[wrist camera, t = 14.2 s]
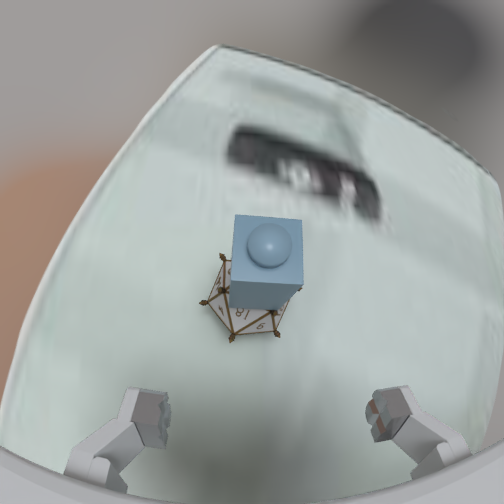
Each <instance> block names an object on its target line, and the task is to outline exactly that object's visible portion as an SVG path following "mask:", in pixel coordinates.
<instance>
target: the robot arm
mask: <svg viewBox="0 0 504 504" xmlns="http://www.w3.org/2000/svg"><path fill="white" fill-rule="evenodd" d="M372 397H373V399H372V400H371V401H369V402H368V404H367V406H366V411H365V414H366V419H367V422H368V423H369V424H370V425H372V428H371V433H372V436H373V439H374V442H381V441H386V440H391V439H392V441H393V442H394V443H395V444H396V445H398V446H399V447H400V448H401V449H402V450H403V451H404V452H405V453H406V454H407V455H409V456H410V457H411V458H412V459H413V460H414V461H415V462H416V463H418V465H417V466H416V467H415V468H414V469H413V470H412V471H411V473H410V474H411V477H412V480H410V481H407V482H404V483H401V484H398V485H394V486H391V487H388V488H384V489H380V490H376V491H372V492H368V493H364V494H360V495H355V496H350V497H345V498H340V499H334V500H328V501H321V502H314V503H306V504H504V438H503V439H502V440H500V441H498V442H497V443H495V444H493V445H491V446H489V447H488V448H486V449H484V450H482V451H480V452H478V453H476V454H474V455H472V454H471V452H470V450H469V448H468V446H467V444H466V442H465V440H464V438H463V436H462V435H461V434H460V433H458V432H457V431H455V430H453V429H452V428H450V427H449V426H447V425H446V424H444V423H442V422H441V421H439V420H438V419H436V418H435V417H433V416H432V415H430V414H428V413H427V412H422V410H421V408H420V406H419V404H418V402H417V400H416V398H415V396H414V394H413V393H412V391H411V389H410V387H409V386H408V385H404V386H398V387H391V388H385V389H378V390H376V391H374V393H373V394H372ZM167 402H168V394H167V392H160V391H153V390H147V389H141V388H135V387H128V388H127V390H126V392H125V395H124V398H123V401H122V404H121V407H120V410H119V413H118V416H117V419H114V418H113V419H112V420H110V421H109V422H108V423H106V424H105V425H104V426H102V427H101V428H100V429H98V430H97V431H95V432H94V433H93V434H91V435H90V436H89V437H87V438H86V439H85V440H83V441H82V442H80V443H79V444H78V445H76V446H75V447H73V448H72V451H71V454H70V457H69V459H68V462H67V465H66V468H65V471H64V474H60V473H58V472H55V471H53V470H50V469H48V468H45V467H43V466H40V465H38V464H36V463H34V462H31V461H29V460H27V459H25V458H23V457H21V456H19V455H17V454H15V453H13V452H11V451H9V450H7V449H5V448H4V447H2V446H0V504H184V503H176V502H168V501H162V500H156V499H150V498H145V497H140V496H135V495H130V494H127V488H128V486H127V484H126V483H125V482H124V480H123V479H122V478H121V476H120V475H119V473H120V472H121V471H122V470H123V469H124V468H125V467H126V466H127V465H128V464H129V463H130V462H131V461H132V460H133V459H134V458H135V457H136V456H137V455H138V454H139V453H140V452H141V451H142V450H143V449H144V448H145V447H144V446H146V447H153V448H161V449H166V444H167V438H168V433H167V430H166V429H167V428H168V427H169V426H170V421H171V408H170V404H169V403H167Z"/></svg>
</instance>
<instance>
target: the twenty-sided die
mask: <svg viewBox="0 0 504 504" xmlns="http://www.w3.org/2000/svg"><path fill="white" fill-rule="evenodd" d="M219 254H220V258H221V260H222V261H223V265H222V267H221V269H220V272H219V274H218V277H217V279H216V281H215V284H214V286H213V289H212V291H211V293H210V296H209V298H208V301H206V300H204V301H203V300H202V301H201V302H200V303H199V304H201V305H203V306H204V305H206V304H209V306H210V307H211V308H212V309H213V311H214V312H215V313H216V314H217V316H218V317H219V318H220V319H221V321H222V322H223V323H224V324H225V326H226V327H227V328H228V329H229V331H230V332H231V333H232V334H231V335H230V337H229V342H230V343H231V342H232V341H234V339H235V335H242V334H254V333H264V332H274V335H275V337H279V338H280V333H279V331H277V330H276V329H277V327H278V325H279V322H280V320H281V318H282V316H283V313H284V311H285V309H286V307H287V304H288V302H289V300H290V299H289V300H288V301H287V302H286V303H285V304H284V305H283V306H282V307H281V308H280V309H279V310H263V309H244V308H228V306H229V289H230V273H231V260H226V256H224V255H223V254H221V253H219ZM301 289H302V288H300V289H299V290H298V291H300V290H301Z"/></svg>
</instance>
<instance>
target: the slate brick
mask: <svg viewBox="0 0 504 504" xmlns="http://www.w3.org/2000/svg"><path fill="white" fill-rule="evenodd" d="M303 285H304V281H303V237H302V220H297V219H285V218H274V217H261V216H249V215H235V223H234V234H233V246H232V258H231V273H230V289H229V306H228V308H244V309H263V310H279V309H280V308H281V307H282V306H283V305H284V304H285V303H286V302H287V301H288V300H289V299H290V298H291V297H292V296H293V295H294V294H295V293H296V292H297V291H298V290H299V289H300V288H301V287H302V286H303Z"/></svg>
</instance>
